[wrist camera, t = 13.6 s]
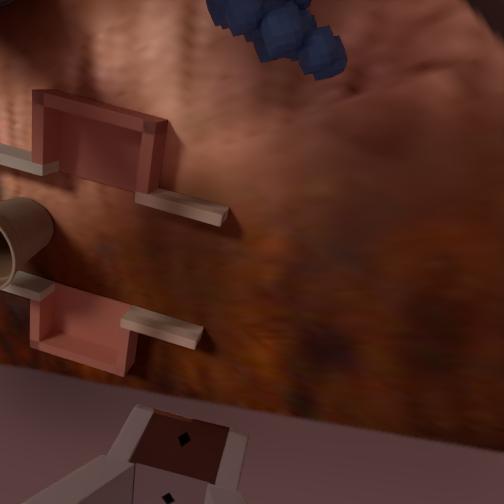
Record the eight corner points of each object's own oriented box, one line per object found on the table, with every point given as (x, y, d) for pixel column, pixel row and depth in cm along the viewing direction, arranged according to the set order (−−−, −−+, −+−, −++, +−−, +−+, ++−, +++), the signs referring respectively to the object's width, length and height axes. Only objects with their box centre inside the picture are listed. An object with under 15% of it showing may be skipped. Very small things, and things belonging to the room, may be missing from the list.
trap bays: (167, 119, 41) (156, 122, 38) (134, 361, 53) (123, 376, 51) (52, 89, 42) (32, 89, 39) (45, 333, 54) (29, 347, 52)
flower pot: (34, 274, 51) (-21, 309, 43) (-22, 213, 49) (-90, 238, 41) (83, 233, 48) (33, 263, 40) (24, 166, 46) (-40, 183, 38)
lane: (229, 207, 43) (222, 215, 41) (202, 335, 50) (194, 349, 47) (147, 184, 44) (135, 191, 41) (131, 313, 51) (120, 326, 48)
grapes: (370, 19, 35) (386, -9, 24) (329, 97, 38) (327, 102, 27) (248, -48, 35) (208, -108, 24) (215, 35, 38) (166, 15, 27)
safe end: (60, 159, 45) (42, 164, 42) (55, 290, 51) (39, 301, 49) (-26, 136, 46) (-49, 139, 43) (-20, 267, 52) (-40, 277, 49)
